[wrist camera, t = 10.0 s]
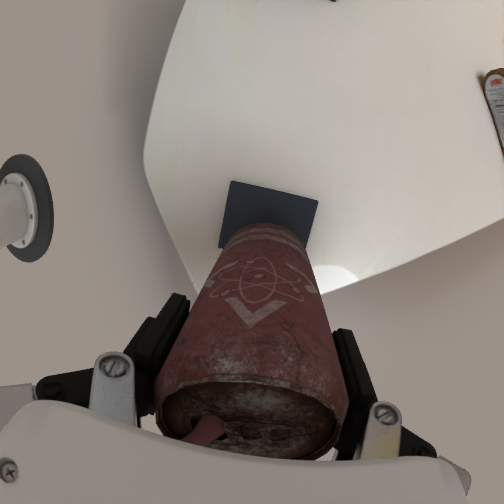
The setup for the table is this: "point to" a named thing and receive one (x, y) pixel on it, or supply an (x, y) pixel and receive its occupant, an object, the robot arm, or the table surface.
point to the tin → (496, 99)
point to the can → (255, 356)
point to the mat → (266, 211)
